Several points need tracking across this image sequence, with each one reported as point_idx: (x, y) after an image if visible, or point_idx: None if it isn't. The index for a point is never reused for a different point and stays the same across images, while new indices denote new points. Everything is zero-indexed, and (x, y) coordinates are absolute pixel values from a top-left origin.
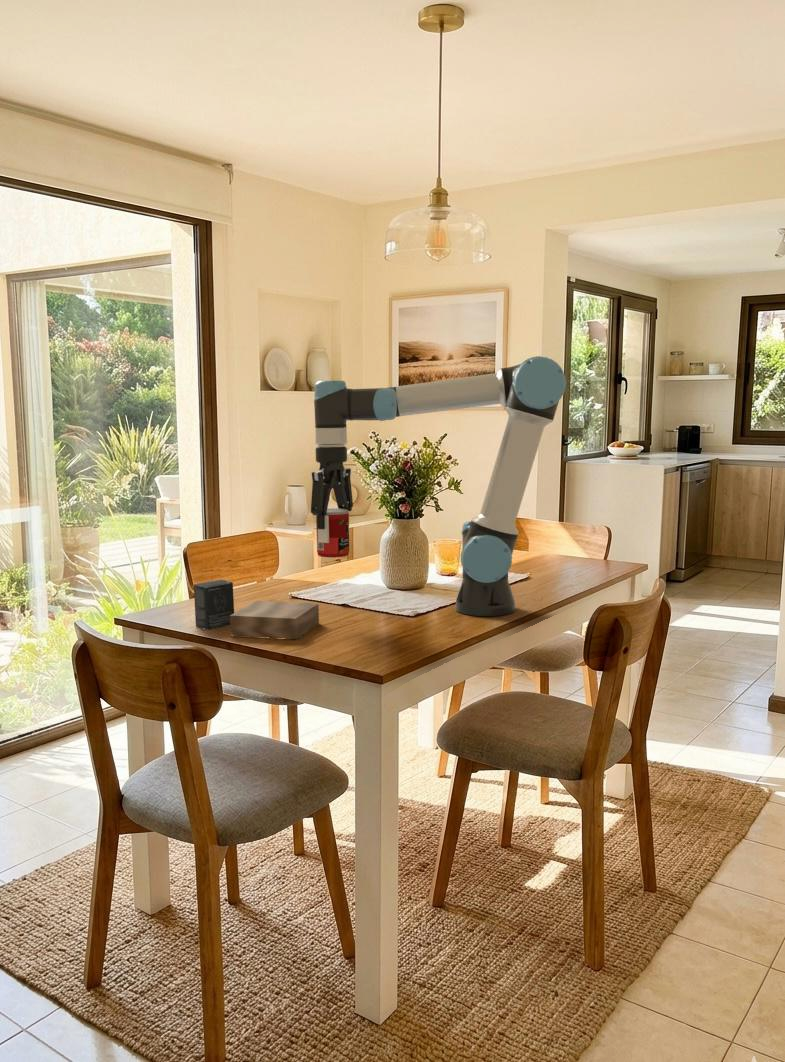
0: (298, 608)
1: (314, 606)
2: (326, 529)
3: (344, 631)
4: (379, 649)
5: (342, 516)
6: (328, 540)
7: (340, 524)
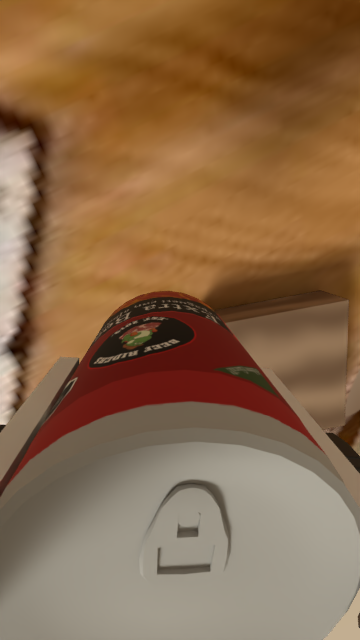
0: (258, 342)
1: (226, 322)
2: (307, 418)
3: (233, 233)
4: (355, 81)
5: (259, 400)
6: (264, 373)
7: (252, 368)
